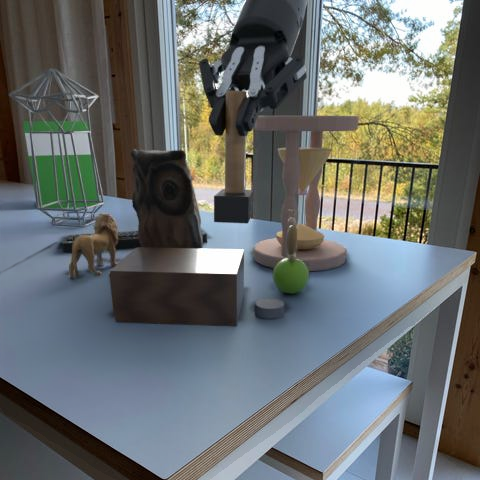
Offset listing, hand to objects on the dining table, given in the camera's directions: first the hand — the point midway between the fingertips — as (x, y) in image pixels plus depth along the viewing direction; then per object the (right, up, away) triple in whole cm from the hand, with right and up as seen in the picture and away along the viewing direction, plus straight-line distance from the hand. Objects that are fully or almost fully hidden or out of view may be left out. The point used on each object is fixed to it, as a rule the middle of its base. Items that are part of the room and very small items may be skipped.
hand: (228, 129), depth 53 cm
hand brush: (+1, -9, +6) cm, 10 cm away
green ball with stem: (+9, -17, +21) cm, 28 cm away
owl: (-10, -11, +35) cm, 38 cm away
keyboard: (-21, -4, +51) cm, 55 cm away
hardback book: (-52, +14, +94) cm, 108 cm away
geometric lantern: (-41, +3, +68) cm, 79 cm away
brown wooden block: (-7, -19, +14) cm, 25 cm away
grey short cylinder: (+5, -19, +12) cm, 23 cm away
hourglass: (+13, -10, +38) cm, 41 cm away
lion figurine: (-24, -12, +31) cm, 41 cm away
